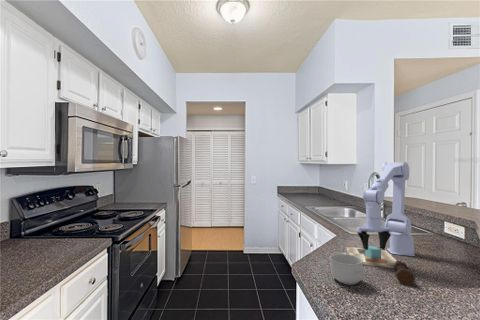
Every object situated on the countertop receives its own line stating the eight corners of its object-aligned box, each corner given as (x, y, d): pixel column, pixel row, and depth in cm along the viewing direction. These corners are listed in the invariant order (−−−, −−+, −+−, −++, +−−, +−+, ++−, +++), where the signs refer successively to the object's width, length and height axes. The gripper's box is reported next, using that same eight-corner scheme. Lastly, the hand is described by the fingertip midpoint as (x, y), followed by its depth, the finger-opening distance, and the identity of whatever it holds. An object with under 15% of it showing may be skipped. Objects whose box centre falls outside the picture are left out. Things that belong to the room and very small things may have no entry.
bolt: (401, 274, 95) (408, 289, 82) (388, 266, 97) (393, 279, 84) (410, 263, 94) (418, 276, 81) (397, 254, 96) (402, 265, 83)
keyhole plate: (386, 253, 115) (386, 247, 115) (402, 269, 96) (402, 262, 96) (346, 249, 120) (346, 244, 120) (353, 263, 101) (353, 257, 101)
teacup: (361, 291, 77) (361, 266, 78) (326, 282, 83) (326, 259, 83) (365, 275, 89) (364, 254, 89) (334, 269, 95) (334, 248, 95)
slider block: (374, 259, 106) (374, 246, 106) (381, 264, 101) (381, 249, 101) (365, 259, 106) (365, 245, 106) (371, 263, 101) (371, 249, 101)
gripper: (383, 215, 108) (383, 245, 108) (352, 215, 107) (352, 246, 107) (394, 218, 101) (394, 251, 101) (361, 218, 100) (362, 251, 100)
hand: (374, 249), depth 103 cm, fingers open, 7 cm apart
